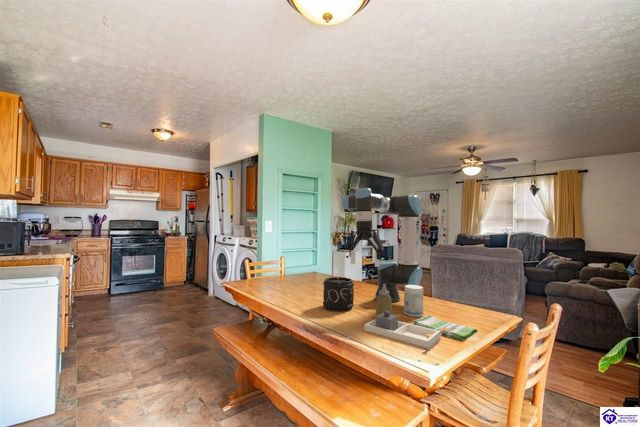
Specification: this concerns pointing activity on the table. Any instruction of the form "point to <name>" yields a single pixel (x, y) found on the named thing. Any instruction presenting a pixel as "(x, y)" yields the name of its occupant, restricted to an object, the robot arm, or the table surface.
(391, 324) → the block
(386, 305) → the squeeze bottle
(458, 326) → the dish towel
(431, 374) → the table surface
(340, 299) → the black marked cylinder
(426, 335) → the tray
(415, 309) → the supplement tub
